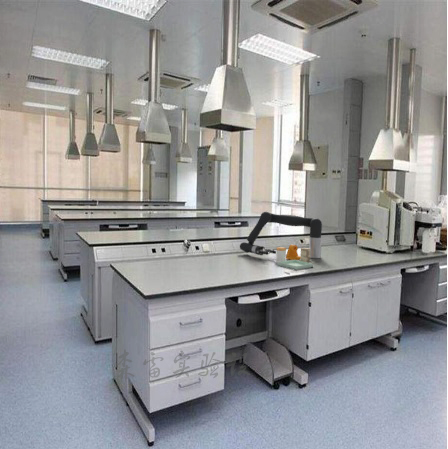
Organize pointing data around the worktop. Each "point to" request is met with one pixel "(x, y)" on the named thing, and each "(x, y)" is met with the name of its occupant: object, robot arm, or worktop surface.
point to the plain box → (305, 255)
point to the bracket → (292, 253)
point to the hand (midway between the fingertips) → (271, 252)
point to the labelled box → (281, 254)
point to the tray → (295, 264)
